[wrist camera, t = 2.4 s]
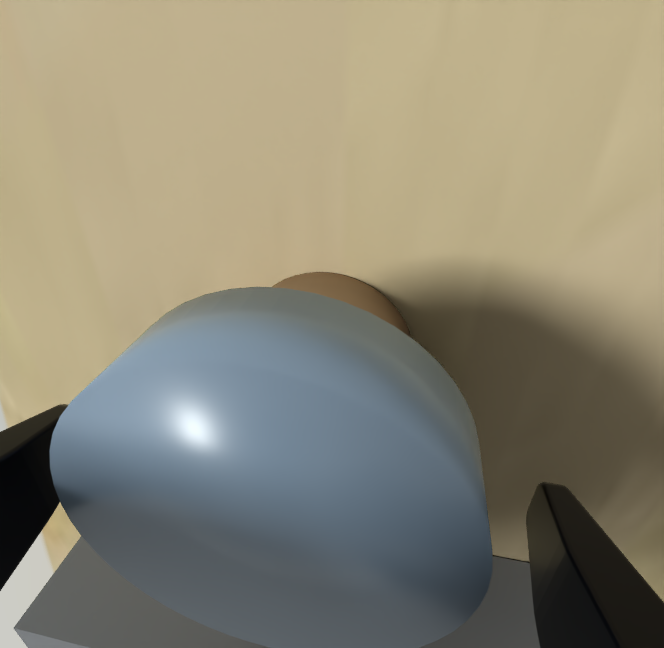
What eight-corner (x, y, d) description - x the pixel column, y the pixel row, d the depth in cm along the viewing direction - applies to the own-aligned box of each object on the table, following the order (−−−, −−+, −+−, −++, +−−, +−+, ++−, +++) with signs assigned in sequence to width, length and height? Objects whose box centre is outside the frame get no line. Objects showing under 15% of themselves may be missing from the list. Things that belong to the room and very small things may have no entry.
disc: (532, 534, 8) (556, 652, 7) (249, 571, 11) (216, 661, 10) (372, 212, 6) (349, 273, 4) (56, 363, 9) (-35, 436, 7)
